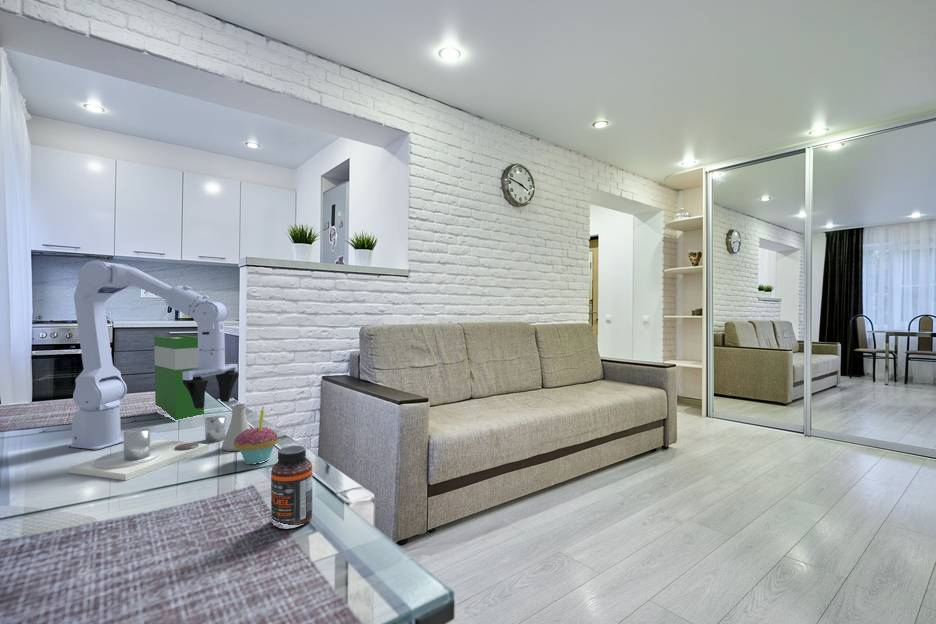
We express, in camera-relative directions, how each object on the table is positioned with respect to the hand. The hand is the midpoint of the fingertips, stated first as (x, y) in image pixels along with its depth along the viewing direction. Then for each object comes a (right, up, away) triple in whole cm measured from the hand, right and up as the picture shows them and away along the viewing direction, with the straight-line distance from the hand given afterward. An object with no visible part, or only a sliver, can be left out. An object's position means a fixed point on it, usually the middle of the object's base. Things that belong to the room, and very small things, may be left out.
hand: (212, 404), depth 111 cm
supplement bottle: (+36, -10, -41) cm, 56 cm away
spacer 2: (0, -9, +1) cm, 9 cm away
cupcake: (+18, -9, -14) cm, 25 cm away
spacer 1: (-6, -8, -17) cm, 20 cm away
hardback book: (-26, -9, +27) cm, 38 cm away
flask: (+9, -9, -5) cm, 14 cm away
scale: (-7, -9, -14) cm, 18 cm away
